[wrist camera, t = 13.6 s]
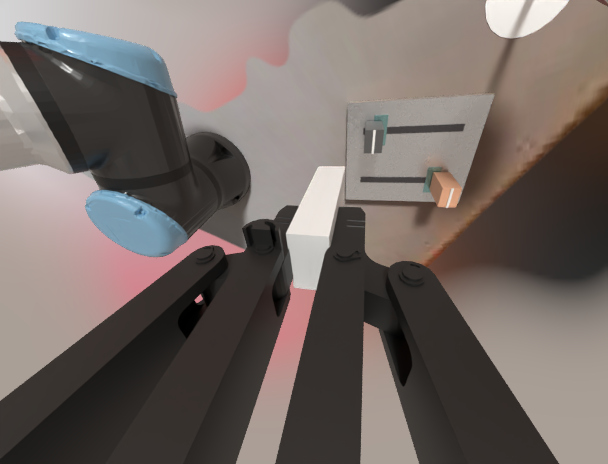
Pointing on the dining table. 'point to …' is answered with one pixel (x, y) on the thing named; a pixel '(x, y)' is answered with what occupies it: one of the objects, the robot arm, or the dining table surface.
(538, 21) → the wineglass
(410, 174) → the console
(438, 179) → the block
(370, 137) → the fader black
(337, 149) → the dining table surface
